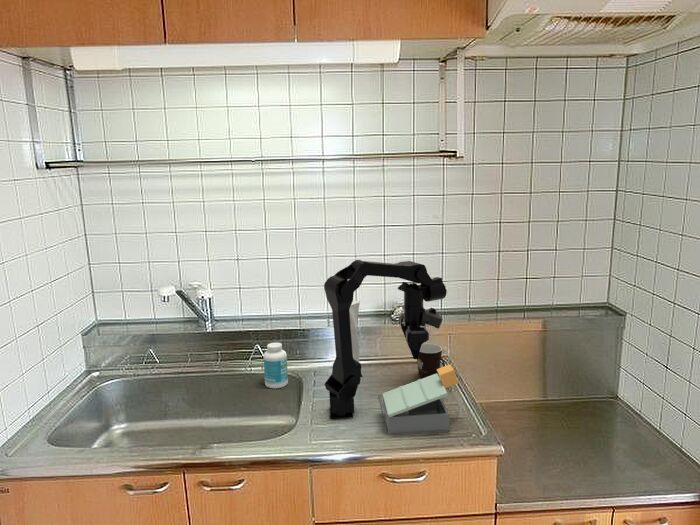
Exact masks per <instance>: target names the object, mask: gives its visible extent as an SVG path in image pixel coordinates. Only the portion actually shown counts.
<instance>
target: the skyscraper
mask: <svg viewBox="0 0 700 525" xmlns="http://www.w3.org/2000/svg"><path fill="white" fill-rule="evenodd" d="M349 312H350V325H351V338H352V351H353V358H354V360H356V361H357V362H359V363H360V340H359V336H358V335H359V334H358V330H357V325H358V320H359V314H360V313H359V312H360V301H359V300H356V301H353V302H352V304H351V306H350V309H349Z"/></svg>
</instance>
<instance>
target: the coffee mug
mask: <svg viewBox="0 0 700 525" xmlns="http://www.w3.org/2000/svg"><path fill="white" fill-rule="evenodd" d="M442 354H443V347H442V346H441V345H439V344H434V343H423V344H422V345H421V348H420V352H419V355H418V359H416V364H417V372H418V378H419V379H423V378H425V377H428V376H431V375H433V374H436V373H437V374H438V372H437V369H439V368H441V363H442V367H444V366H446V364H445V361H444V359H443V358H442ZM438 376H439V375H438Z"/></svg>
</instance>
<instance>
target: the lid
mask: <svg viewBox="0 0 700 525" xmlns="http://www.w3.org/2000/svg"><path fill="white" fill-rule="evenodd" d="M437 372H438V374H437V373H436V374H433V375H431V376H428V377H425V378H423V379H420V378H419V379H417V380H416V381H412V382H410V383H407V384H405V385H400V386H399V387H396V388H394V389H391V390H389V391H386V392H382V396H383V397H384V401H385V405H386V409H387V413H388V416H389V417H392V416H395V415H397V414H400V413H403V412H405V411H408V410H411V409H413V408H416V407H419V406H421V405H424V404H427V403H429V402H432V401H435V400H438V399H440V398H441V399H443V398H445V397H448V396H449V394H448V391H447V388H450V387H452V386H455V385H457V384H459V381H458V378H457V375H456V372H455V370H454V368H453V366H452V365H451V364H447V365H445V366H444V367H443V366H441V367H440V368H439V369H437ZM438 375H439V376H438ZM383 397H382V398H383Z"/></svg>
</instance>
